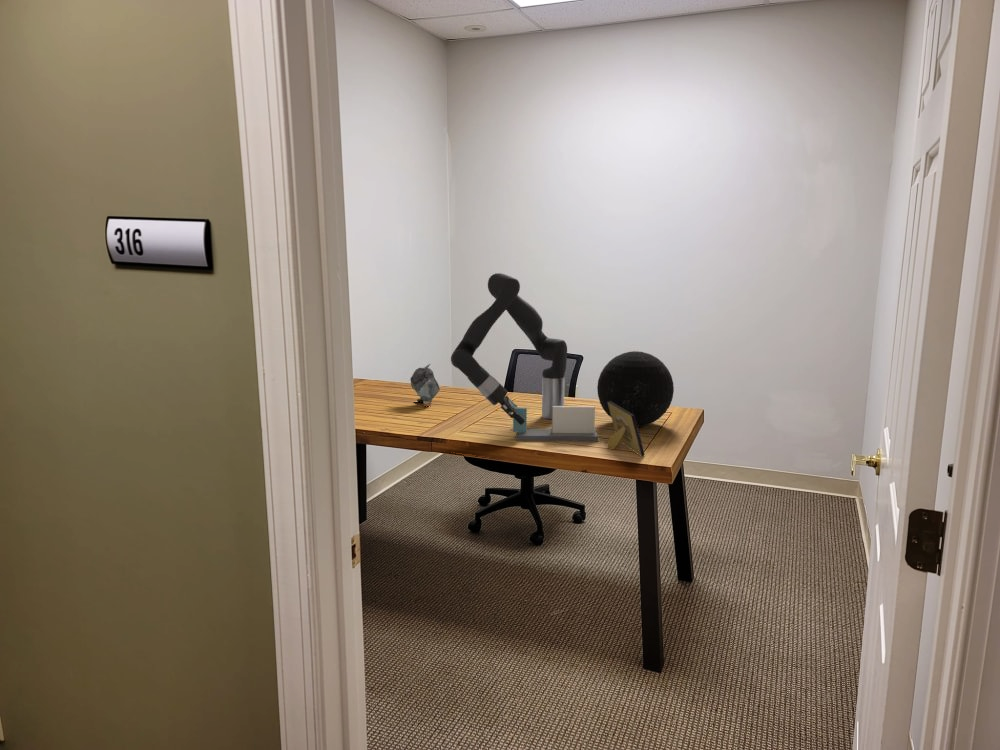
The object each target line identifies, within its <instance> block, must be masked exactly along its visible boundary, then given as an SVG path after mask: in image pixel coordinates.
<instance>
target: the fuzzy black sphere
mask: <svg viewBox="0 0 1000 750" xmlns="http://www.w3.org/2000/svg"><path fill="white" fill-rule="evenodd" d="M596 387H597V398H598V400H599V404H600V406H601V407H602V409H603V411H604V412H605V413H606V415H608V416H609V417H610V418H611V419H612V417H611V414H610V410H609V406H608V402H609V401H611V402H613V403H615V404H616V405H618V406H620V407H621V408H623V409H625V410H626V411H628V412H630V413H632V414H633V415H635V419H636V422H637V426H638V427H644V426H648V425H650V424H653V423H655V422H657V421H658V420H659V419H660V418H662V417H663V415H665V414H666V412H668V409H669V408H670V406H671V403H672V401H673V397H674V391H675V390H674V380H673V377H672V374H671V373H670V371H669V368H668V367H667V366H666V365H665V363H664V362H663V361H662V360H661V359H659V358H658V357H656V356H654V355H652V354H650V353H648V352H643V351H636V350H633V351H632V350H631V351H628V352H624V353H621V354H619V355H616V356H615V357H613V358H612V359H611V360H609V361H608V362H607V364H606V365H605V366H604V367H603V368H602V370H601V372H600V374H599V377H598V380H597V386H596Z"/></svg>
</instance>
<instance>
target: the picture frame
mask: <svg viewBox="0 0 1000 750" xmlns="http://www.w3.org/2000/svg"><path fill="white" fill-rule="evenodd" d="M608 406H609V410H610V414H611V417H612V418H611V417H610V418H611V420H612V425H613V428H614V432H615V433H614V434H613V435H612V436H611V437H610V438H608V441H607V446H606V448H607V447H608V449H610V448H611V449H612V450H615V449H616V448H617V446H618V444H619V442H620V443H622V444H623V443H624V444H623V445H625V447H627V446H628V448H629V449H630V448H631V449H630V450H632V451H633V450H634V451H635V454H637V453H638V455H639V454H640V455H641V456H642V457H645V456H644V455H646V454H645V450H644V446H643V443H642V438H641V435H640V431H639V428H638V427H639V426H637V422H636V419H635V415H633V414H632V413H630V412H628V411H626V410H625V409H623V408H621V407H620V406H618V405H616V404H615V403H613V402H611V401H609V402H608ZM611 449H610V450H611ZM634 451H633V452H634ZM640 455H639V456H640ZM641 456H640V457H641Z"/></svg>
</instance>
